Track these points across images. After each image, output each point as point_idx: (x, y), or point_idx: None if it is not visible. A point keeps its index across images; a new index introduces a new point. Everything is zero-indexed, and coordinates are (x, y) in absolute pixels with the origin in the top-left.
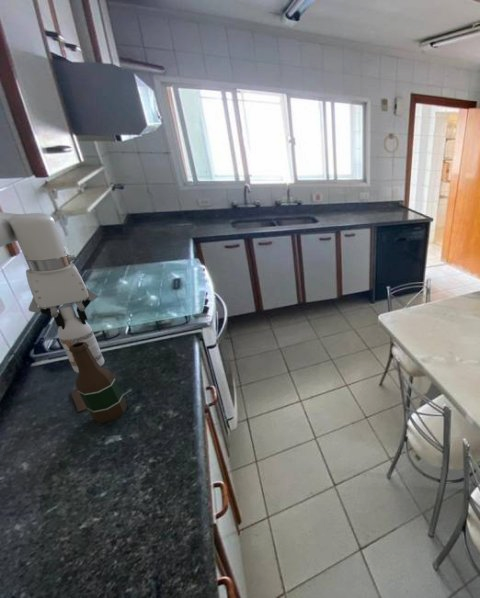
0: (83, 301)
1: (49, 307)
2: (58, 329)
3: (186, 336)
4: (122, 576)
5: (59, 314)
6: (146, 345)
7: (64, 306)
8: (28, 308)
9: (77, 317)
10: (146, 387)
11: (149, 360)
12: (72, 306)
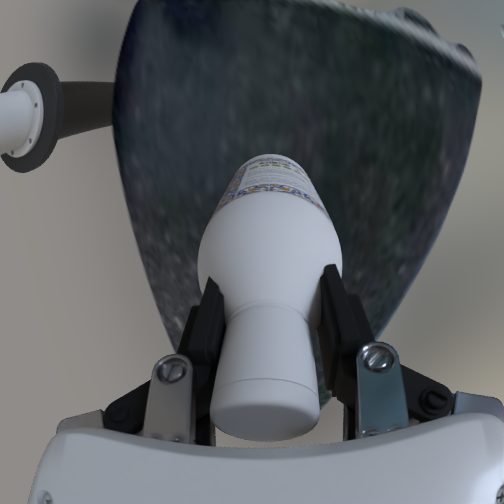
0: (411, 409)
1: (154, 425)
2: (201, 290)
3: (473, 82)
4: None
5: (216, 370)
6: (397, 43)
7: (262, 425)
8: (57, 430)
9: (311, 333)
10: (351, 245)
11: (390, 128)
12: (318, 412)
